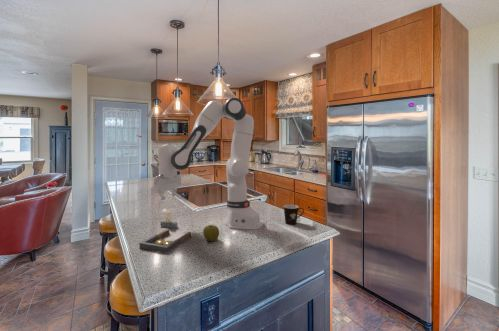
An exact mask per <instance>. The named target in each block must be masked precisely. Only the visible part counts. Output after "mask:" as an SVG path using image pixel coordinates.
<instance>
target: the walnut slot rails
mask: <svg viewBox="0 0 499 331" xmlns="http://www.w3.org/2000/svg"><path fill="white" fill-rule="evenodd" d="M169 235H170V228H166V229H165V230H163V231H160V232H158V233H156V234H155V236H157V240H160V239H163V238H164V237H166V236H169ZM189 238H190V239H191V238H192V232H190V231H189V232H187V233H185V234H184V235H181V236H180V237H178V238H177V239H180V245H182V244H183V243H185V242H186V241H188V240H189Z"/></svg>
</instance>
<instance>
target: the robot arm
mask: <svg viewBox="0 0 499 331" xmlns="http://www.w3.org/2000/svg"><path fill="white" fill-rule="evenodd" d="M223 118H224V119H227V120H231V121H232V120H233V122H234V129H233V133H232V138H231V143H230V146H231V147H230V157H229V158H228V159H227V161H226V163H225V165H226V167H225V169H226V172H225V173H226V183H227V184H226V185H227V200H226V208H227V212H226V213H227V214H226V219H225V223H224V224H225V225H226V226H227V227H228V228H229V229H240V230H241V229H242V230H258V229H260V228H262V227H263V226H264V223H265V222H264V221H263V220H262V219H261V217H260V213H259V212H257V211H256V210H255V209H254V208H253V207H252V206H250V204H251V203H252V202H251V200H250V201H249V200H248V198H247V197H248V195H247V193H248V190H247V188H248V187H247V180H246V175H248V173H249V169H250V168H249V166H250V156H251V153H250V152H251V146H252V142H253V136H254V128H255V126H254V125H255V121H254V118H253V116H252V115H250V114H247V111H246V108H245V105H244V103H243V101H242V100H241V99H240V98H238V97H230V98H228V99H226V101H225V102H224V103H221V102H219V101H217V100H210V101H209V102H208V103H207V104H206V105H205V106H204V107H203V109H202V110H201V112H200V113H199V114H198V115H197V118H196V119H195V122H194V125H193V127H192V130H191V132H190V134H189V137H187V139H186V141H185V142H184V143H183V145H182V146H181V148H180V147H177V146H175V145H174V144H172V143H167V144H162V145H159V147H158V148H157V161H158V175H156V176H155V177H154V178H153V185H152V191H153V193H154V194H158V195H159V196H160V200H161V201H165V200H166V196H165V195H164V193H165V192H168V191H171V190H172V193H171V196H172V197H175V196H176V194H177V190H178V188H180V187H181V186H182V176H181V174H182V172H181V171H183V170H186V169H187V168H188V167H190V165H191V163H192V162H191V161H192V159H193V157H192V156H193V154H194V152H195V151H196V149H197V148H198V146H199V144H200V143H202V140H203V139H205V138H206V137H207V136H209V135H210V134H211V133H212V132H213V131H214V129H215V128H216V126H217V125H218V123H219V122H220V121H221V119H223Z"/></svg>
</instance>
